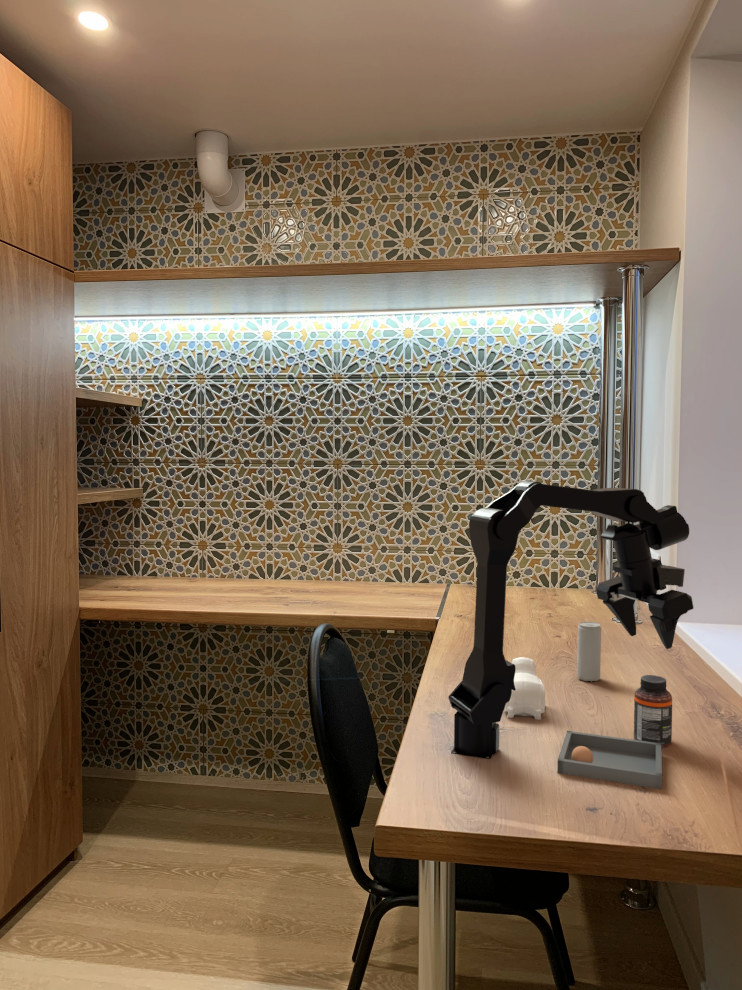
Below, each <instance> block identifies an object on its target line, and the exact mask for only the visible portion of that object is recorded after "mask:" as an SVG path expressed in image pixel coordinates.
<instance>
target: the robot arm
mask: <svg viewBox="0 0 742 990" xmlns="http://www.w3.org/2000/svg"><path fill="white" fill-rule="evenodd" d="M541 506H542V507H543V506H544V507H549V508H550V507H551V508H558V509H559V508H560V509H570V510H576V511H586V512H589V513H591V514H592V515H595V516H598V517H601V518H603V519H607V520H610V521H618V522H623V523H624V522H626V523H624V524H621V525H614V524H610V523H609V524H608V525H607V526H606V528H605V530H603V532H602V533H601V535H600V538H601V539H602V540H606V541H607V540H608V541H612V542H613V547H614V552H615V556H616V563H617V564H616V565H613V566H612V567H613V572H615V573H618V574H619V575H620V576H615V577H612V578H609V579H606V580H604V581H601V582H599V583H598V584H597V587H596V589H595V591H596V596H597V599H598V600H601V601H602V604H604V605H605V606H606V607H607V608H608V609H609V611H610V612H611V613H612V614H613V615H614V617H615V618H616V619H617V620H618V622H619V623H620V624H621V626H622V627H623V628H624V630H625V631H626V633H628V635H629V636H630V637H634V636H636V635H637V623H636V622H637V621H636V616H635V607H634V605H635V602H636V601H638V602H643V603H646V604H647V606H648V611H649V612H650V613H651V615H650V616H649V619H650V621H651V622H652V624H653V627H654V628H655V631H656V633H657V635H658V636H659V639H660V641H661V643H662V645H663V646H664V648H665V649H666V650H668V649H671V648H673V644H674V638H675V633H676V629H677V625H678V621H679V619H680V618H681V617H682V616H683V615H685V614H687V613H688V612H689V611H691V610H694V603H693V598H692V596H691V595H690V594H688V593H686V592H683V591H679V590H675V589H670V590H667V591H664V592H662V593H658V591H663V590H665V589H667V586H676V587H678V588H679V587H680V588H683V587H684V581H685V571H686V570H685V568H681V567H677V566H672V565H665V564H662V560H661V559H658V558H653V557H652V552H651V549H652V550H655V551H660V550H663V549H665V548H668V547H671V546H673V545H676V544H679V543H682V542H685V541H686V540H687V539H688V538H689V536H690V525H689V523H687V520H686V519H685V517H684V516H683V515H682V514H681V513H679V512H678V508H677V506H676V505H670V504H669V505H664V506H662V507H661V508H659V509H656V508H655V507H654V506H653V505H652V504H650V502H648V500H647V497H646V496H645V493H644V492H643V490H640V489H638V488H625V487H602V488H595V489H584V488H576V487H570V486H561V485H554V484H553V485H552V484H544V483H542V482H539V481H533V480H532V481H531V480H524V481H521V482H519V483H517V484H516V485H515V486H514V487H513V488H512V489H510V490H509V491H508V492H506V493H505V494H503V495H502V496H500V497H498V498H497V499H495V500H493V501H492V502H490V503H489V504H487V506H486V507H481V508H480V509H477V510H476V511H475V512H474V513H473V514H472V515H471V516H470V517H469V523H468V529H469V536H470V537H469V539H470V545H471V547H472V548H471V549H472V551H473V554H474V556H475V559H476V565H477V566H476V567H477V569H476V585H475V586H476V587H475V589H476V590H475V591H476V592H475V607H474V608H475V611H474V612H475V613H474V632H473V633H474V634H473V648H472V651H471V652H470V654H469V656H468V658H467V660H466V662H465V666H464V670H463V674H462V679H461V681H460V682H459V684H458V685H456V687H455V688H454V690H452V692H450V694H449V695H448V700H449V704H450V706H451V708H452V709H454V710H455V711H456V712H455V713H454V716H453V717H454V719H453V721H454V722H453V723H454V724H453V725H454V727H453V731H454V732H453V733H454V734H453V748H452V750H451V752H450V754H451V755H459V756H465V757H466V756H467V757H472V758H477V759H478V758H479V759H486V760H491V759H492V757H493V756H494V755H496V754H497V753H498V750H499V749H500V724H499V723H500V722H501V720H502V717H503V713H504V711H505V710H504V708H505V705H506V703H507V702H509V701H510V698H511V694H512V690H514V691H515V690H516V689H515V686H514V676H515V671H516V669H515V665H514V664H512V662H510V661H508V660H506V658H505V653H504V641H505V640H504V637H505V636H504V635H505V617H506V614H505V613H506V594H507V593H506V591H507V574H508V573H507V572H508V564H509V562H510V561H511V559H512V556H513V555H514V553H515V551H516V548H517V544H518V540H519V534H520V531H522V529H524V528H525V527H526V526H527V525H528V524H529V523H530V522H531V520H532V519H533V517H534V515H535V513H536V511H537V510H538V509H539V508H540V507H541ZM634 523H635V524H634ZM636 523H638V524H636Z"/></svg>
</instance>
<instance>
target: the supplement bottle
mask: <svg viewBox="0 0 742 990" xmlns="http://www.w3.org/2000/svg"><path fill="white" fill-rule="evenodd" d="M639 683H640V684H639V685H640V687H638V688H637V689H636V690H635V691H634V700H633V703H634V704H633V705H634V707H633V710H634V712H633V740H640V741H647V742H654V743H661V749H664V748H665V749H666V748H668V747H671V745H672V735H673V734H672V733H673V730H672V729H673V695H672V694H671V692H670V691H668V690H667V679H666V678H665V677H663V676H660V675H652V674H647V675H642V676H641V677H640V682H639Z"/></svg>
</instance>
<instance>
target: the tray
mask: <svg viewBox="0 0 742 990" xmlns="http://www.w3.org/2000/svg"><path fill="white" fill-rule="evenodd" d="M578 746H585V747H587V748H588V749H590V751H591V752H592V754H593V762H592V763H587V762H581V761H574V760H572V752H573V750H574V749H575V748H576V747H578ZM662 763H663V762H662V748H661V743H654V742H647V741H640V740H634V739H632V738H631V739H630V738H624V737H618V736H617V737H616V736H610V735H602V734H594V733H588V732H580V731H579V732H578V731H572V730H566V733H565V736H564V738H563V742H562V745H561V748H560V751H559V754H558V758H557V773H558V774H562V775H569V776H574V777H582V778H587V779H595V780H601V781H607V782H614V783H620V784H626V785H634V786H640V787H644V788H645V787H646V788H651V789H659V790H662V785H663V784H662V781H663V780H662V779H663V774H662V773H663V772H662V771H663V769H662Z"/></svg>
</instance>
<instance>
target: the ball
mask: <svg viewBox="0 0 742 990" xmlns="http://www.w3.org/2000/svg"><path fill="white" fill-rule="evenodd" d="M572 760H574V761H581V762H587V763H592V762H593V754H592V752H591V751H590V749H588V748H587V747H585V746H578V747H576V748H575V749H574V750H573V752H572Z"/></svg>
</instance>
